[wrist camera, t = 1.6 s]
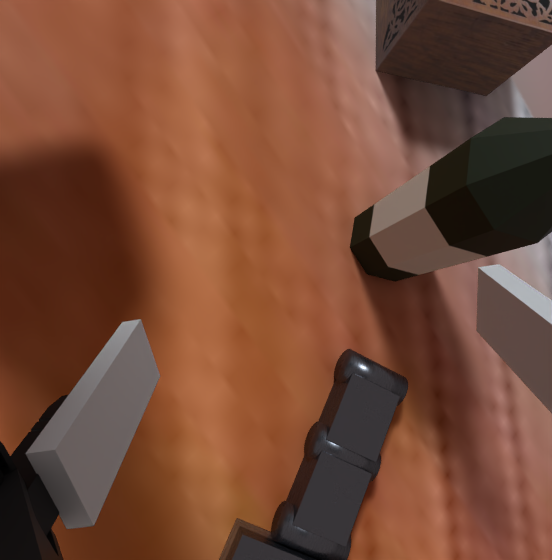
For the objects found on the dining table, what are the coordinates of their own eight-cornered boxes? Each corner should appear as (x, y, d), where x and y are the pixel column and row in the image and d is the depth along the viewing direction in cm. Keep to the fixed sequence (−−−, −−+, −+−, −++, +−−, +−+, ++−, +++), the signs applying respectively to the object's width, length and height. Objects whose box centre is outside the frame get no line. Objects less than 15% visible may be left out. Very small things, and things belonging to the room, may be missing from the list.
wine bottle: (398, 297, 41) (944, 193, 12) (334, 249, 40) (757, 7, 11) (434, 234, 43) (969, 16, 14) (374, 187, 42) (814, -152, 13)
